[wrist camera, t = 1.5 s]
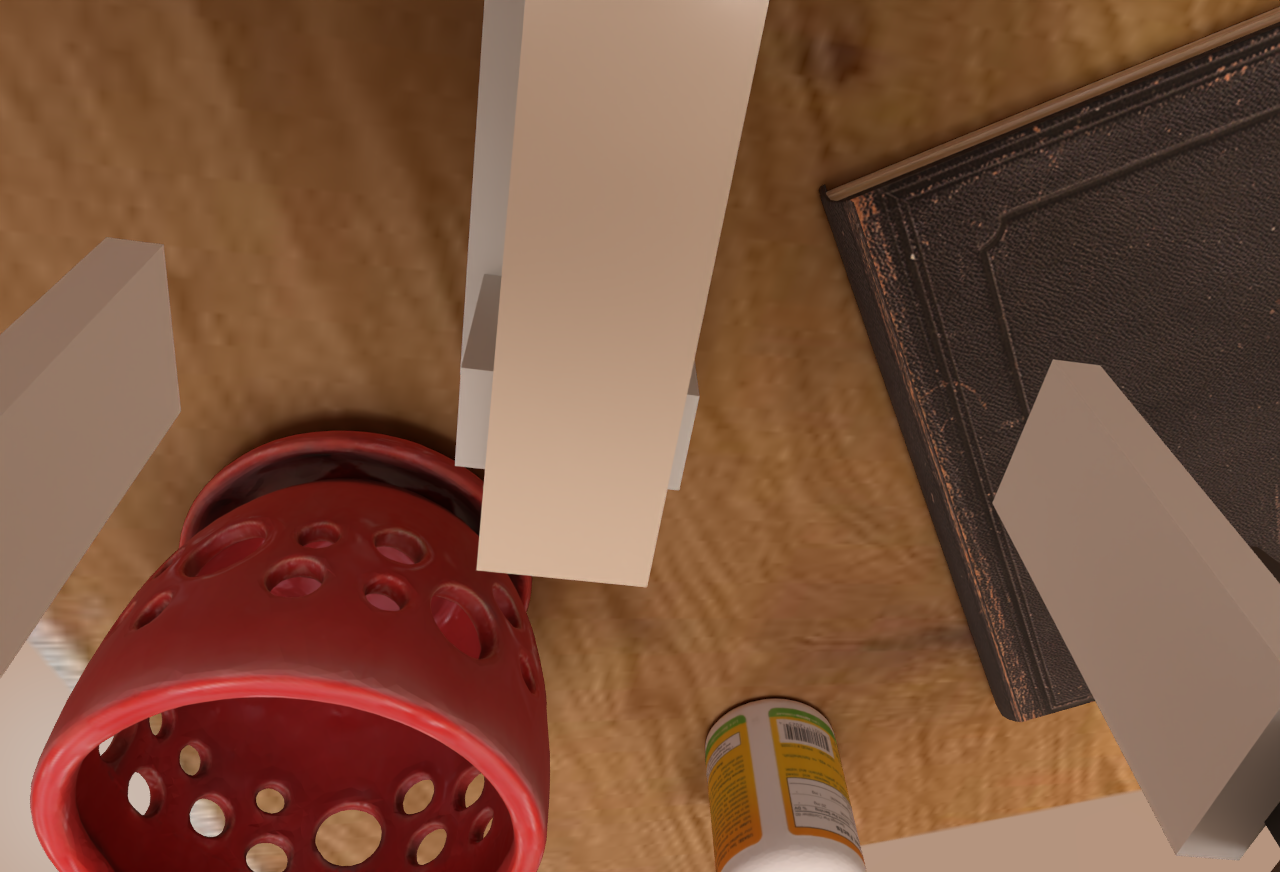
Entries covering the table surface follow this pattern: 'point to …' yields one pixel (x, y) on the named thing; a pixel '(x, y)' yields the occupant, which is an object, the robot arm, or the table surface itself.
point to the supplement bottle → (779, 792)
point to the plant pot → (311, 676)
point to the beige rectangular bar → (607, 272)
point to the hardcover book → (1081, 307)
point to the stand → (503, 238)
